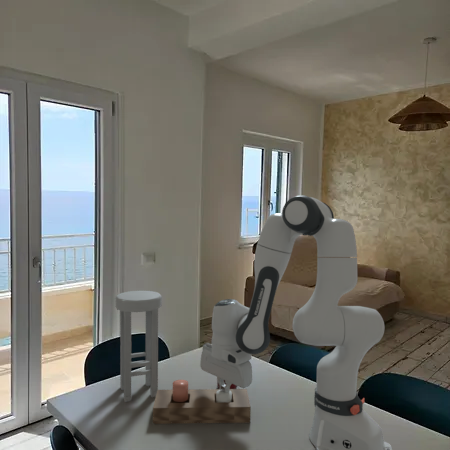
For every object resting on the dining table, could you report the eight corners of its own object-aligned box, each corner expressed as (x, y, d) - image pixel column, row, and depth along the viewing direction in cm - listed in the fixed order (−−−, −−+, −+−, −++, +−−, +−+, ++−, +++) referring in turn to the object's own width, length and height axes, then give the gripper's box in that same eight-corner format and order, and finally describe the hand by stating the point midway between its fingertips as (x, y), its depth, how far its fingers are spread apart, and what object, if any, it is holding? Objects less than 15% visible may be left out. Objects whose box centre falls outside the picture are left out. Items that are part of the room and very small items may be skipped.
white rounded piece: (231, 403, 133) (231, 389, 133) (231, 411, 128) (232, 396, 128) (215, 403, 133) (216, 389, 133) (216, 411, 128) (216, 396, 128)
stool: (165, 398, 140) (165, 298, 138) (119, 405, 134) (119, 301, 132) (155, 379, 155) (155, 289, 152) (113, 385, 149) (113, 291, 147)
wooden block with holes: (246, 403, 137) (246, 388, 137) (250, 422, 125) (250, 406, 125) (157, 404, 136) (157, 389, 136) (152, 423, 124) (152, 408, 124)
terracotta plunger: (188, 394, 133) (188, 379, 132) (187, 402, 128) (188, 386, 127) (173, 394, 132) (173, 379, 132) (171, 402, 127) (172, 386, 127)
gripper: (196, 343, 135) (195, 383, 136) (242, 361, 121) (241, 406, 122) (209, 339, 140) (209, 377, 141) (255, 355, 126) (254, 398, 127)
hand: (224, 391), depth 131 cm, fingers closed
